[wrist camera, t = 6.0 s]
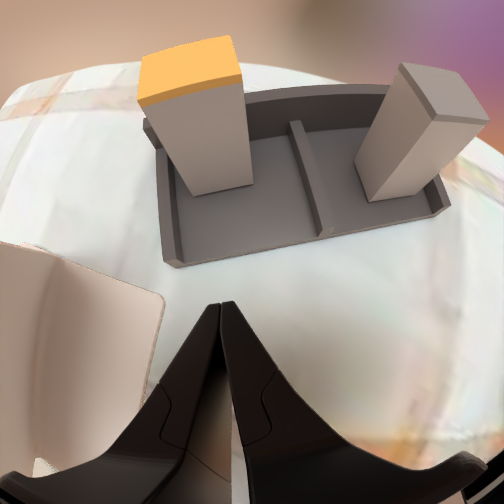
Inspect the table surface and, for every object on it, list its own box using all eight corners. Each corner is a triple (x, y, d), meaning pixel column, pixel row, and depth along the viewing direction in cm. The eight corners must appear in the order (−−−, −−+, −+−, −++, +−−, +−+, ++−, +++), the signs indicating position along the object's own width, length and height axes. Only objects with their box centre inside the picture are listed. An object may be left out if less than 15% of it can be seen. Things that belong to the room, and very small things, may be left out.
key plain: (415, 194, 21) (490, 120, 10) (368, 202, 21) (437, 114, 10) (399, 156, 22) (457, 72, 11) (353, 160, 22) (400, 61, 11)
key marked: (253, 183, 22) (241, 73, 11) (193, 196, 22) (136, 100, 11) (244, 144, 23) (229, 35, 11) (188, 157, 23) (142, 57, 12)
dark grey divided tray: (434, 216, 22) (474, 188, 15) (176, 268, 22) (142, 249, 16) (394, 123, 24) (416, 83, 18) (165, 156, 24) (140, 113, 18)
